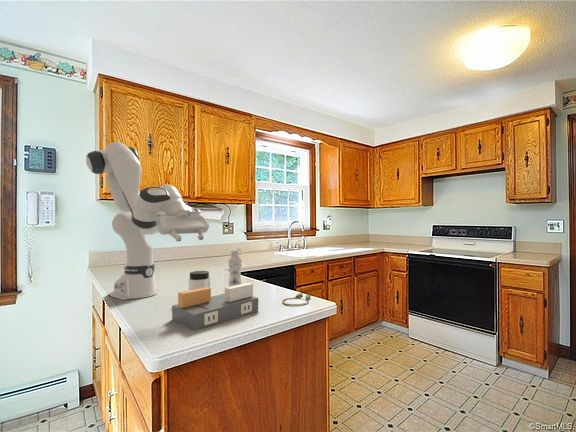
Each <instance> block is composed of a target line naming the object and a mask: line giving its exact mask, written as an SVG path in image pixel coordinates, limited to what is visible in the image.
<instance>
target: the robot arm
mask: <svg viewBox="0 0 576 432" xmlns="http://www.w3.org/2000/svg"><path fill="white" fill-rule="evenodd" d="M85 158H86V159H85V162H86V167H88V169H89V170H90V172H91V173H93V174H95V175H103V174H106V176H105V177H106V178H105V179H106V180H105V181H106V185H107V189H108V190H109V193H110V195H111V196H112V199H113V201H114V203H115V205H116V207H117V208H118V209H119V210H120V211H122V212H121V213H117V214H116V215H115V216H114V217H113V219H112V221H111V227H112V230H113V232H114V233H115V234H117V235H118V236H119V237H120V238H121V240H122V242H123V243H124V246H125V249H126V265H125V267H123V270H124V272H123V274H122V275H121V276H120V277H119V278H118V279H117V280H116V281H114V283H113V290H112V291H110V292H108V293H107V296H109V295H110V296H109V297H112V298H116V299H118V300H122V301H124V300H133V299H142V298H148V297H149V298H150V297H151V296H155V295H157V294H158V291H159V290H158V288H157V282H156V275H155V273H154V272H155V263H154V248H153V246H152V245H151V244H149V243H148V241H147V240H146V237H145V236H149V235H155V234H158V233H159V234H160V235H165V236H166V235H170V236H171V237H172V238H173V239H175V241H176V242H181V240H182V236H181V234H182V235H184V234H185V235H186V234H198V236H197V238H198V240H199V241H203V240H204V238H205V237H204V235H203V234H204V233H207V232H208V230H209V228H210V225H209V223H208V220H207V219H206V218H205V216H204V215H203V214H201V213H202V212H201V210H200V209H198V208H196V207H195V208H194V207H191V206H189V205H186V203H185V202H184V198H183V197H182V195H181V193H180V192H179V191H178V189H177V188H176V187H175V186H173V185H172V184H170V183H169V184H166V183H165V184H161V185H160V186H149V187H145V188H142V189H141V190H140V184H141V179H142V171H143V170H142V169H143V168H142V165H141V163H140V155H139V153H138V151H137V150H136V148H135V147H133V146H127V145H126V144H124V143H122V142H119V141H113V142H110V143H109V144H107V146H106V147H105V148H104V149H100V150H93V151H90V152H87V154H86V157H85ZM162 212H164V213H165V214H161V213H162Z"/></svg>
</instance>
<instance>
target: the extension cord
mask: <svg viewBox="0 0 576 432" xmlns="http://www.w3.org/2000/svg"><path fill="white" fill-rule="evenodd" d="M301 297H303V293H301V292H300V293H297V294H296V295H295V296H294V297H289V298H284V299H282V304H283V305H285V306H288V307H301V306H307V305H309V303H310V302H309V300H310V299H311V295H310V294H306V295H305V299H304V298H301ZM286 300H302V301H305V302H304V303H285V301H286Z"/></svg>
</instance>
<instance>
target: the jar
mask: <svg viewBox="0 0 576 432" xmlns="http://www.w3.org/2000/svg"><path fill="white" fill-rule="evenodd" d="M205 287H208V288H211V278H210V272H209V270H194V271H190V272H189V278H188V291H189V290H194V289H199V288H205Z"/></svg>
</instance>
